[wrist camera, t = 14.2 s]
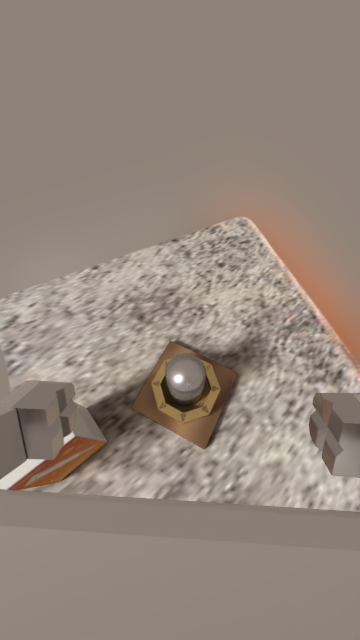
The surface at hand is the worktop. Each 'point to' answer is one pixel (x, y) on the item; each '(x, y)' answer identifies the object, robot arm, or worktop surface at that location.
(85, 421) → the small box
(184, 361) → the grey metal cylinder
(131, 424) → the worktop surface
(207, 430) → the board
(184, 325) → the worktop surface
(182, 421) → the ring
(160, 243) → the worktop surface
